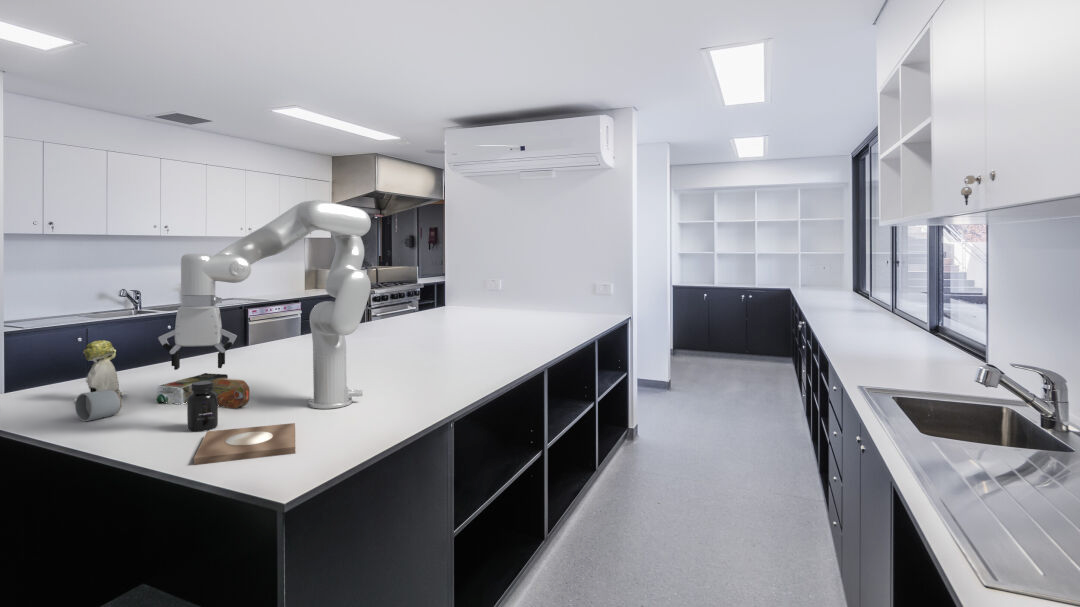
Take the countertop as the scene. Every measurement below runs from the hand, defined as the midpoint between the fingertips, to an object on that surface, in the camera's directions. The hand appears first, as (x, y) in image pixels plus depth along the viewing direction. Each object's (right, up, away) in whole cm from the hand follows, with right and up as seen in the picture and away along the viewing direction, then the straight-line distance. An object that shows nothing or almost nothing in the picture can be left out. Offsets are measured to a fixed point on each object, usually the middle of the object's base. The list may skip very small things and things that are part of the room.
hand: (198, 368), depth 144 cm
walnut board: (+19, -17, -11) cm, 28 cm away
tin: (-5, -14, +23) cm, 28 cm away
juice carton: (-23, -14, +34) cm, 43 cm away
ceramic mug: (-34, -15, +10) cm, 39 cm away
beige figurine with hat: (-48, -13, +28) cm, 57 cm away
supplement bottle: (0, -16, +2) cm, 16 cm away
